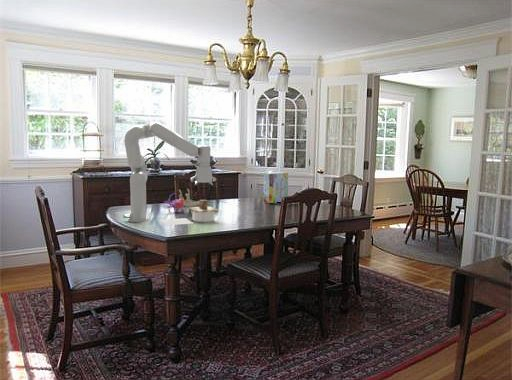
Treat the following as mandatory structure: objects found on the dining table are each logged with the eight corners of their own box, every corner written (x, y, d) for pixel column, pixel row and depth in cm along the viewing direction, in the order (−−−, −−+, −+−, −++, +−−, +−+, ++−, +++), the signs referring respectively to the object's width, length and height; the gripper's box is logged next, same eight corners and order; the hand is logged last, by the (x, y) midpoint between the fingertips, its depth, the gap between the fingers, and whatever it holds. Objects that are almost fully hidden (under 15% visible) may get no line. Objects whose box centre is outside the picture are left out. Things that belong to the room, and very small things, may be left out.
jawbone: (176, 205, 337) (178, 188, 336) (186, 205, 345) (187, 188, 344) (199, 210, 322) (200, 192, 321) (208, 210, 330) (210, 192, 329)
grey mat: (166, 226, 260) (166, 225, 260) (158, 220, 276) (158, 219, 276) (194, 224, 268) (194, 223, 268) (185, 218, 284) (185, 218, 284)
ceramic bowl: (196, 223, 272) (197, 212, 271) (190, 219, 283) (190, 208, 282) (216, 221, 277) (216, 211, 277) (209, 218, 289) (209, 208, 288)
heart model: (189, 213, 309) (169, 211, 296) (181, 215, 315) (161, 213, 301) (188, 192, 312) (168, 190, 299) (181, 194, 318) (161, 192, 304)
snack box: (281, 200, 378) (282, 171, 375) (287, 202, 372) (289, 172, 368) (262, 202, 364) (263, 172, 361) (269, 204, 358) (270, 173, 355)
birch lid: (195, 212, 269) (196, 202, 269) (188, 208, 283) (188, 199, 282) (218, 211, 276) (218, 201, 275) (210, 207, 289) (210, 198, 289)
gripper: (192, 164, 269) (192, 192, 271) (218, 165, 276) (217, 191, 278) (189, 164, 275) (188, 190, 277) (214, 164, 283) (213, 190, 285)
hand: (203, 191), depth 278 cm, fingers open, 9 cm apart
